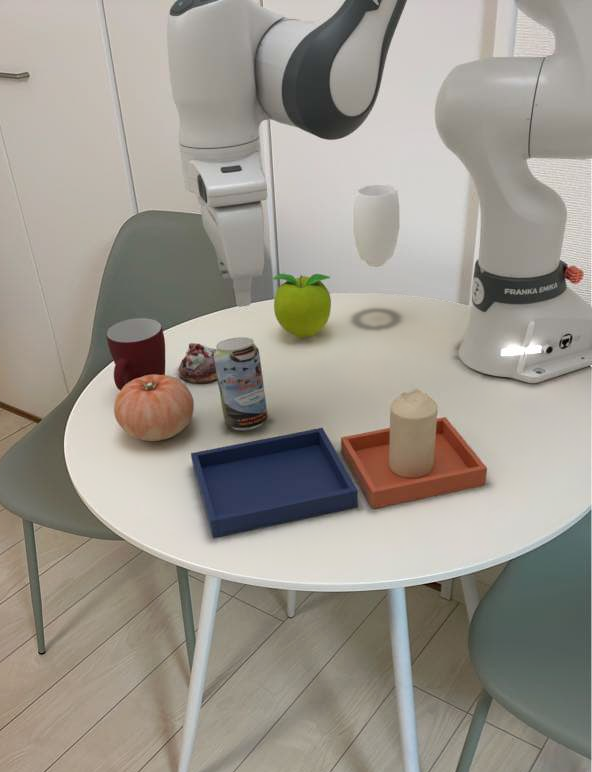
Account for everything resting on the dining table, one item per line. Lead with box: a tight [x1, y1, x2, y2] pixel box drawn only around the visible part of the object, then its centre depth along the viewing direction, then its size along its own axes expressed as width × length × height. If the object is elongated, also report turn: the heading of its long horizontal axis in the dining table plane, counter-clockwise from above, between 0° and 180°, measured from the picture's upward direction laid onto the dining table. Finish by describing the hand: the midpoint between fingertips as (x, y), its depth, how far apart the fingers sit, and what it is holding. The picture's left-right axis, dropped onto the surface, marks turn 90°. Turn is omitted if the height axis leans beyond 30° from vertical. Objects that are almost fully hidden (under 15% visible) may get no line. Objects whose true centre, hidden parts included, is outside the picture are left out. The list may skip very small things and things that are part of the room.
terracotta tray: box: [340, 416, 488, 510], centre depth 94 cm, size 14×12×2 cm
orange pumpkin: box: [113, 374, 195, 442], centre depth 103 cm, size 11×11×8 cm
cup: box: [353, 183, 401, 268], centre depth 122 cm, size 7×7×21 cm
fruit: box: [272, 273, 332, 339], centre depth 122 cm, size 9×9×10 cm
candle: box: [389, 388, 439, 478], centre depth 91 cm, size 6×6×10 cm
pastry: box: [177, 342, 218, 384], centre depth 116 cm, size 8×8×5 cm
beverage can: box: [214, 336, 269, 431], centre depth 102 cm, size 6×7×12 cm
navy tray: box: [190, 427, 359, 539], centre depth 93 cm, size 18×15×2 cm
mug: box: [105, 317, 166, 392], centre depth 110 cm, size 10×8×10 cm
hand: (235, 289), depth 92 cm, fingers open, 8 cm apart
